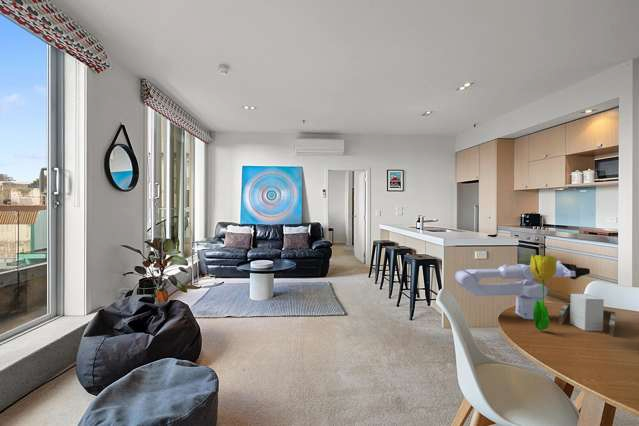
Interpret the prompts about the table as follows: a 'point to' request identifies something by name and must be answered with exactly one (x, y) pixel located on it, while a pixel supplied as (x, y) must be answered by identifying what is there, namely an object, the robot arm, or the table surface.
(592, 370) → the table surface
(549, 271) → the flower
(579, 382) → the table surface
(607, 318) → the cold frame
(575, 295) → the supplement box
